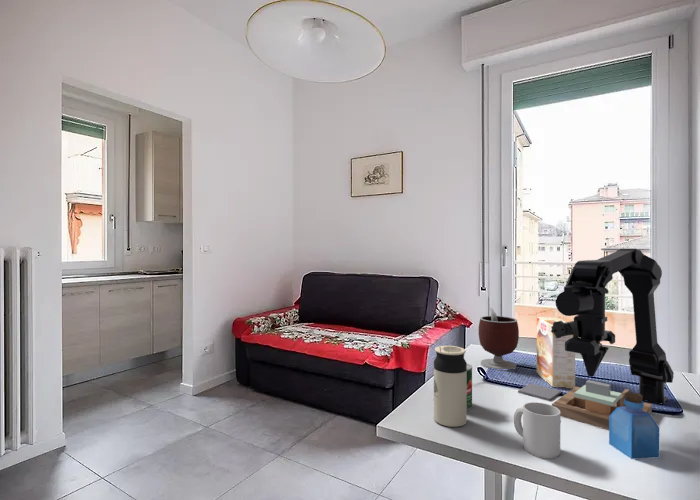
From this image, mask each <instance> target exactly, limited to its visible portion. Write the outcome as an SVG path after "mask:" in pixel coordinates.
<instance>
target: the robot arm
mask: <svg viewBox="0 0 700 500" xmlns="http://www.w3.org/2000/svg"><path fill="white" fill-rule="evenodd" d="M618 272H619V274H620V275H621V277H622V278H623V283H624V286H625V287H626V288H627V289H628V291H629V292H630V293H631V295H632V296H631V297H632V305H633V307H632V308H633V319H634V320H633V321H634V329H635V331H634V332H635V342H636V343H635V345H634V346H633V347H632V349H630V350H629V352H628V355H629V359H628V365H629V368H630V375H631V376H635V377H636V376H637V377H638V380H639V383H638V385H639V386H638V388H639V389H638V393H637V394H640V395H642V396H643V398H642V401H644V400H646V402H649V401H651V402H650V403H653V402H657V403H662V404H664V403H665V404H666V402H667V401H668V399H667V398H668V397H667V396H665V384H667V383H669V384H670V383H673V382H674V380H673V379H674V375H675V373H674V371H673V369H672V367H671V365H670V363H669V362H668V360H667V356H666V355H667V354H666V352H665V350H664V349H663V348H662V347H661V345H660V344H659V343H658V334H657V333H658V332H657V319H656V310H655V309H656V306H655V295H654V293H655V291H656V290H657V289H658V287H659V285H660V284H661V278H662V274H663V272H662V267H661V266H660V265H659V263H658V262H657V261H656V260H655V259H653V258H652V257H649V256H648V255H646V254H644V253H643V252H642V250H641V249H638V248H620V249H616V251H615V252H612V253H610V254H608V255H605V256H603V257H600V258H598V259H585V260H578V261H576V262H575V264H574V265H573V267H572V269H571V272H570V274H569V276H568V278H567V281H566V283H565V286H563V291H562V292H560V293H558V295H557V297H556V299H555V303H554V304H555V306H556V309H557V311H558V312H559V313H561V315H563V316H565V317H573V316H574V317H573V320H570V321H565V322H566V323H563V322H562V321H558V322H554V323H553V326H552V327H551V328H552V330H551V332H552V333H554V334H555V337H556V338H561V337H562V336H568V335H573V338H571V339H569V340H567V341H566V342H565V351H569V352H575V354H576V353H577V354H580V355H581V358H582V360H583V364H584V367H585V370H586V373H587V376H588V377H592V378H593V377H595V375H596V372H597V371H598V368H599V367H600V365H601V363H602V361H603V360H604V357H605V355H606V353H607V352H608V350H609V347H608V346H603V343H601V342H609V344H610V345H613V344H614V343H616V334H615V333H614V332H613V331H611V330H606V322H608V316H606V294H609V293H610V291H609V290H608V288H607V285H608V284H609V283H610V281H612V280H613V278H614V277H613V275H614V274H616V273H618ZM666 400H667V401H666ZM665 401H666V402H665ZM657 403H656V404H657ZM662 404H661V405H662ZM665 404H664V405H665Z"/></svg>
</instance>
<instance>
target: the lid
mask: <svg viewBox="0 0 700 500" xmlns="http://www.w3.org/2000/svg"><path fill="white" fill-rule="evenodd" d="M574 397H578V398H582V399H586V400H590V401H594V402H598V403H602V404H606V405H610V406H614V405H615V403H616V402H617V401H618V400H619V399H620V398H621V397H622V392H617V391H614V390H611V384H608V383H605V382H604V383H603V382H600V381H599V382H598V381H594V380H591V379H588V380H586V381H585V384H584V385H582V386H581V388H580V389H579V390H577V391H576V392H575V393H574Z"/></svg>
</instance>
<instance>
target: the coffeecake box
mask: <svg viewBox="0 0 700 500" xmlns="http://www.w3.org/2000/svg"><path fill="white" fill-rule="evenodd" d="M558 321H562V322H563V323H566V322H567V321H565V320H563V319H561V318H559V317H556V316H555V317H554V316H553V317H549V316H536V372H537V373H538V374H537V373H536V374H537V375H539V376H540V377H541V378H542V379H543V380H544V381H545V382H546V381H547V382H548V383H549V384H550V385H551V386H553V387H566V388H565V389H572V388H574V387H576V353H575V352H569V351H565V342H566V341H567V340H569V339H571V338H573V335H568V336H562V337H561V338H556V337H555V334H554V333H552V332H551V330H552V328H551V327H552V326H553V323H554V322H558ZM547 382H546V383H547ZM548 383H547V384H548ZM549 384H548V385H549ZM550 385H549V386H550ZM551 386H550V387H551Z"/></svg>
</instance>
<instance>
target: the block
mask: <svg viewBox="0 0 700 500" xmlns="http://www.w3.org/2000/svg"><path fill="white" fill-rule="evenodd" d="M585 410H589V411H593V412H597V413H600V414H604V415H608V416H610V415H611V406H610V405H606V404H602V403H598V402H594V401H590V400H586V399H585Z"/></svg>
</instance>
